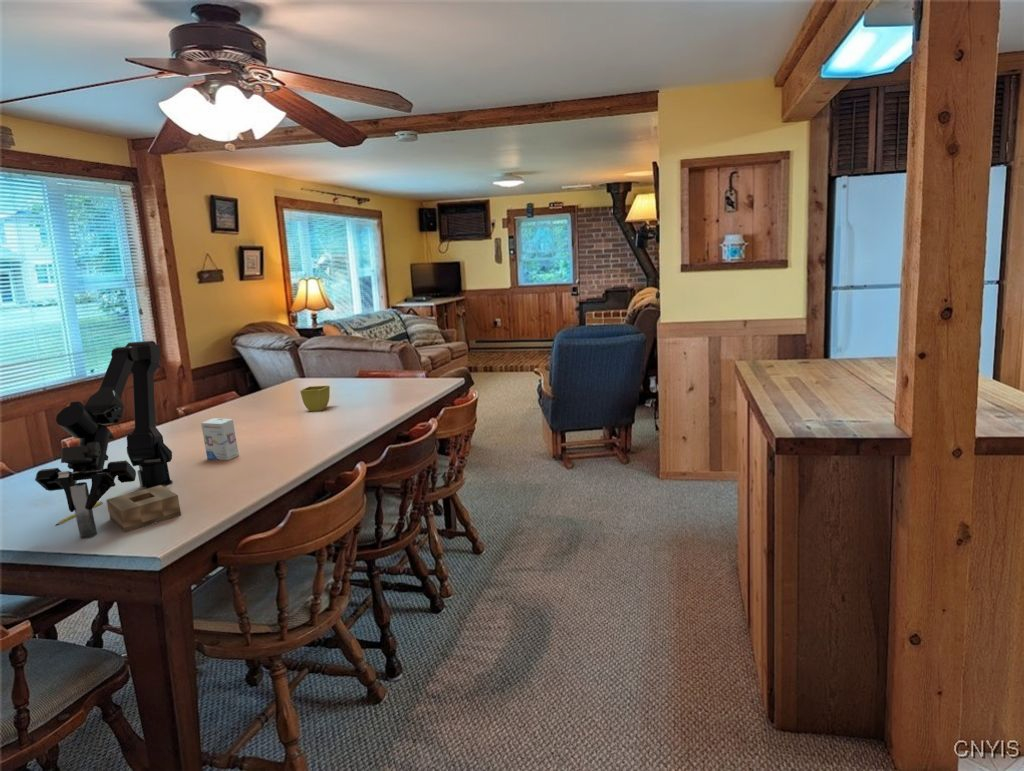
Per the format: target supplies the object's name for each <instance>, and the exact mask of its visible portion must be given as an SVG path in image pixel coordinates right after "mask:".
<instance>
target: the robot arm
mask: <svg viewBox="0 0 1024 771" xmlns="http://www.w3.org/2000/svg"><path fill="white" fill-rule="evenodd" d="M161 355H162V350H161V347H160V345H159V344H157V343H156V341H154V340H147V341H145V340H144V341H131V342H128V343H127V344H126V345H124V346H116V347H115V348H113V349H112V350H111V359H110V360H109V364H108V365H107V369H106V371H105V373H104V377H103V379H102V381H101V384H100V386H99V388H98V390H97V391H96V392H94V393H93V394H92V395H91V396H89V398H88V399H87V401H86V402H85V404H84V403H82V402H81V401H80V400H79V401H71V402H70V404H69V405H68V406H66V407H64V408H63V409H62V410H61V411H59V413H58V414H57V415H56V418H55V420H56V423H57V425H58V426H60V427H61V428H62V429H63V430H64V431H66V433H68V434H69V435H71V436H72V437H73V438H75V439H78V440H79V443H78V445H76V446H68V447H62V448H61V451H60V454H61V456H60V463H61V464H64V463H65V464H67V466H66V467H67V468H68V469H69V471H68V470H65V471H62V470H60V468H58V467H54V468H52V467H51V468H45V469H39V470H38V471H37V473H36V475H35V478H34V481H35V482H36V483H37V484H39V485H40V486H41V487H42V488H43V489H45V490H46V491H49V492H51V491H52V492H53V491H60V490H61V491H62V490H63V491H64V494H65V497H66V501H67V507H68V510H69V512H71V513H73V512H75V510H74V505H73V501H72V496H71V491H70V486H71V485H73V484H76V483H78V481H85V480H91V487H90V491H89V498H88V503H87V509H88V510H91V509H92V508H93V507H94V505H95V504H96V503H98V502H99V500H101V498H102V497H103V496H104V495H105V494H106V493H107V492H108V491H109V490H110V489H111V488H114V487H116V482H115V478H116V479H117V480H118V481H119V482H120V483H122V484H124V483H131V482H135V481H136V476H137V475H138V480H139V485H140V486H141V487H143V489H148V488H151V487H155V486H159V485H162V486H165V485H169V484H173V480H171V476H170V472H169V466H168V463H170V462H171V461H172V459H173V451H172V450H171V448H169V447H168V446H167V445H166V444H165V443H164V437H163V435H162V433H161V432H160V430H159V429H158V428H157V426H156V424H157V423H156V409H155V408H156V404H155V380H154V376H155V372H156V371H157V369H158V367H159V366H160V364H161ZM130 373H131V374H132V388H133V414H134V415H133V416H134V428H133V430H132V432H131V433H129V434H127V436H126V453H127V456H128V458H129V461H130V463H129V461H128V460H126V459H125V460H116V461H115V460H114V461H109V455H108V454H107V453H108V447H109V443H110V442H109V441H110V440H114V439H115V436H114V434H113V432H111V429H110V428H108V427H107V426H106V425H115V424H117V423H119V422H120V421H121V420H122V417H123V412H124V408H125V407H124V403H123V401H122V396H123V393H124V390H125V386H126V384H127V381H128V379H129V377H130ZM106 461H109V462H108V463H107V466H106V468H104V467H105V462H106ZM134 467H138V470H137V471H136V469H135V468H134ZM70 470H72V471H70ZM93 509H94V508H93ZM93 509H92V510H93Z"/></svg>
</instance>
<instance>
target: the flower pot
mask: <svg viewBox="0 0 1024 771" xmlns="http://www.w3.org/2000/svg"><path fill="white" fill-rule="evenodd" d="M299 392H300V395H301V400H302V404H304V406H305V408H306V409H307V410H308V411H309V412H317V411H318V412H319V411H320V412H321V411H323V410H325V409H326V408H327V407H328V404H329V401H330V395H331V394H330V385H313V386H312V385H310V386H307V387H305V388H303V389H301V390H300V391H299Z"/></svg>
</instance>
